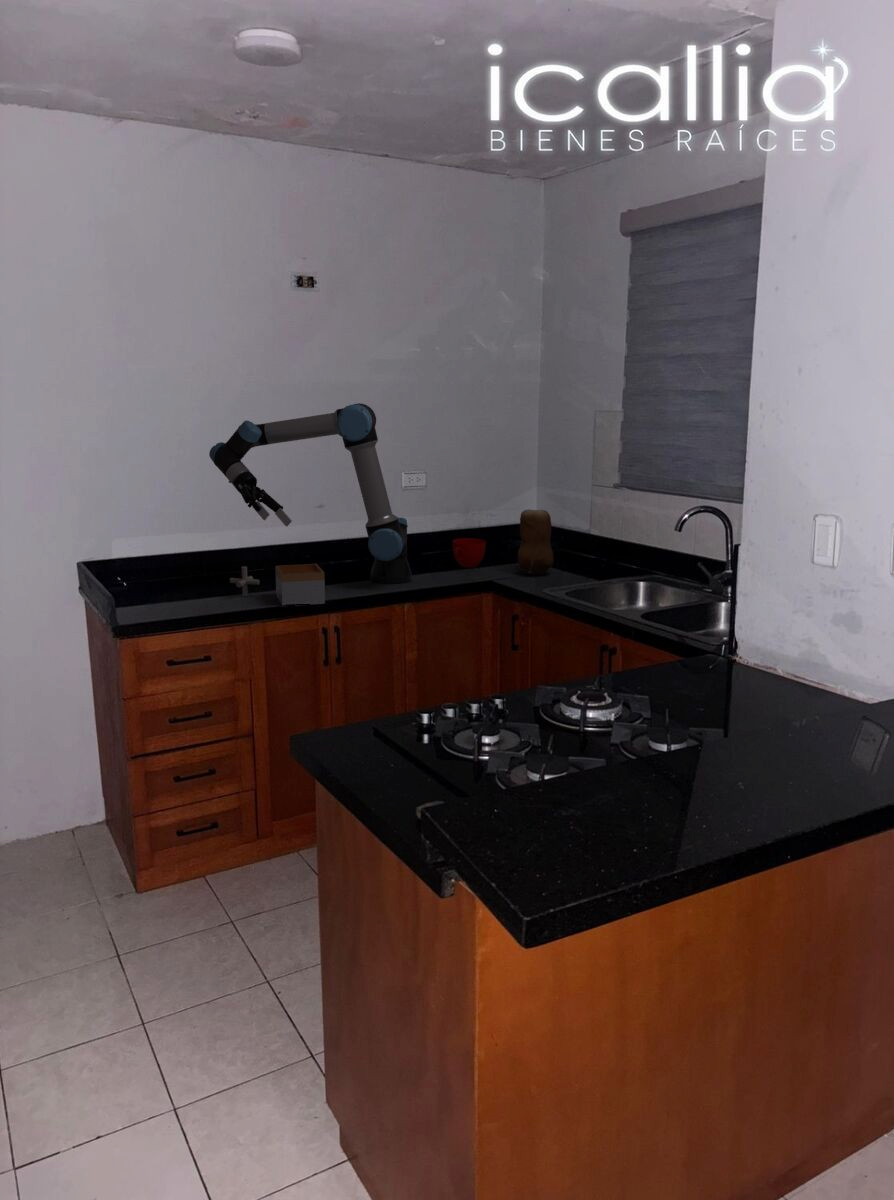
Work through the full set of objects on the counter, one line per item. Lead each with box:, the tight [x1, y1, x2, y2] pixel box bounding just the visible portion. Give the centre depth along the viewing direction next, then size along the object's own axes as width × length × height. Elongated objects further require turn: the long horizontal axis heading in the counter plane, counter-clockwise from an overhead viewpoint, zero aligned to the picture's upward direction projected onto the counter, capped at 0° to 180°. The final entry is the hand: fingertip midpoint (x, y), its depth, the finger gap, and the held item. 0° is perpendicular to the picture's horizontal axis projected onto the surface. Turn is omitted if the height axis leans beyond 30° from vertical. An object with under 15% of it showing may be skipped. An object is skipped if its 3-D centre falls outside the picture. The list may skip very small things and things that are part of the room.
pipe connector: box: [229, 566, 260, 597], centre depth 316 cm, size 10×10×10 cm
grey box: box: [275, 563, 326, 606], centre depth 312 cm, size 14×14×10 cm
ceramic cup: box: [452, 537, 487, 569], centre depth 367 cm, size 13×17×10 cm
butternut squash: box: [517, 508, 555, 576], centre depth 354 cm, size 14×13×25 cm
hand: (278, 520), depth 314 cm, fingers open, 13 cm apart
